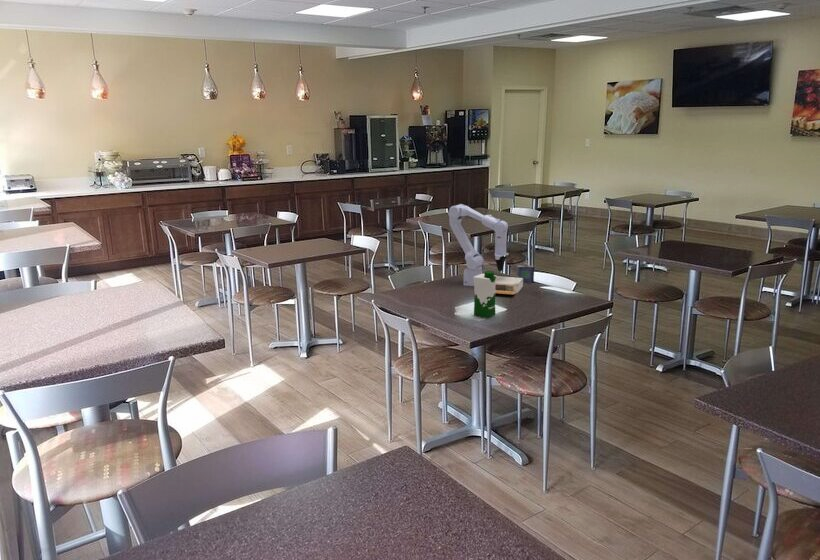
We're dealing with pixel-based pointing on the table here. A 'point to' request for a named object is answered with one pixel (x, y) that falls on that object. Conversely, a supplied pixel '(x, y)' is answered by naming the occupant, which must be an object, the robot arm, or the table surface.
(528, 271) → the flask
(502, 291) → the door
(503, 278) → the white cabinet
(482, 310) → the milk carton
